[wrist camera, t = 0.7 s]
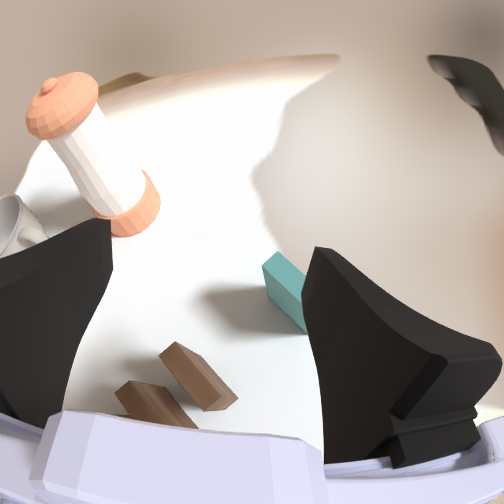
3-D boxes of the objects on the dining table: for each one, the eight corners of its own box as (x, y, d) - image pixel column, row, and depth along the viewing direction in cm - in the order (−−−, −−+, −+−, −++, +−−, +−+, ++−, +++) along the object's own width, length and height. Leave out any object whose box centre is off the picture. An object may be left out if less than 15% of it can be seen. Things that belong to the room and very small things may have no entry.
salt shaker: (95, 225, 36) (0, 111, 19) (128, 178, 38) (56, 57, 21) (137, 246, 34) (34, 115, 17) (172, 194, 36) (103, 52, 19)
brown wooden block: (165, 387, 27) (129, 380, 20) (200, 429, 25) (172, 436, 18) (152, 397, 26) (114, 393, 20) (186, 440, 24) (155, 449, 18)
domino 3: (281, 285, 30) (277, 251, 24) (320, 322, 28) (328, 297, 22) (268, 296, 29) (261, 265, 23) (307, 335, 27) (312, 313, 21)
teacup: (-7, 285, 34) (-46, 260, 27) (24, 218, 38) (-8, 187, 31) (50, 317, 31) (3, 292, 24) (86, 234, 35) (49, 197, 28)
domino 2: (201, 356, 28) (175, 341, 21) (238, 398, 26) (221, 396, 19) (188, 367, 27) (158, 355, 21) (224, 409, 25) (203, 411, 19)
